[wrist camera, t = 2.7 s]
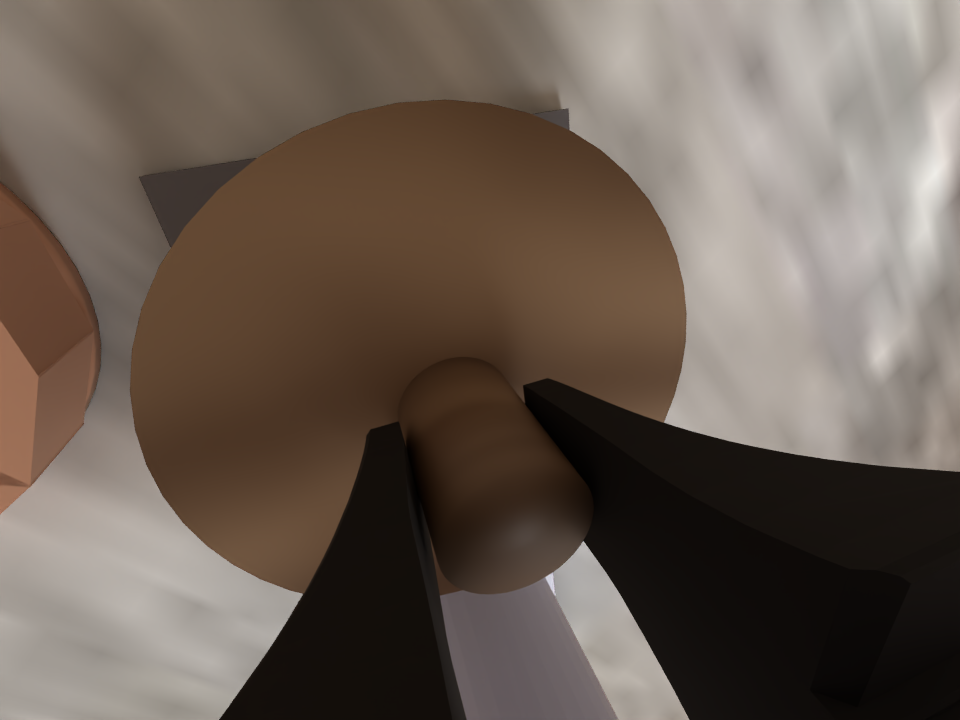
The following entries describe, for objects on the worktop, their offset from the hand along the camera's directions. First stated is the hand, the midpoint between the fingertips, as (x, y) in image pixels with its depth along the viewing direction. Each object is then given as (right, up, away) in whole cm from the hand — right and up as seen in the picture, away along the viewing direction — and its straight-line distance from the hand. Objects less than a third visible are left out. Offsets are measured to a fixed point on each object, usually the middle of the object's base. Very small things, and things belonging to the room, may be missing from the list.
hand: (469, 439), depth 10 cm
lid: (-1, +1, +2) cm, 2 cm away
